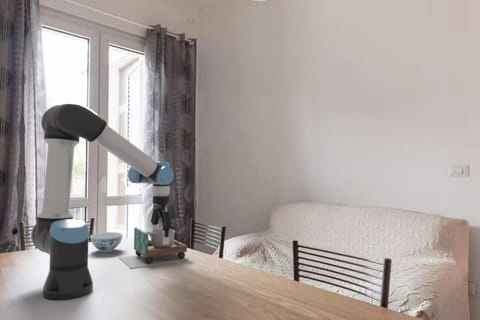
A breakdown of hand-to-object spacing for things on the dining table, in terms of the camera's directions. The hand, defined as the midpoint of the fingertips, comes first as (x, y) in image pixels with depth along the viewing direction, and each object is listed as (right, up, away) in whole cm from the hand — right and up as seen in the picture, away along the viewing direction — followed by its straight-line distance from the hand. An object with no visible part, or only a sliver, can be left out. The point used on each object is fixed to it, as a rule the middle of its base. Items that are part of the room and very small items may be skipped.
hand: (160, 241), depth 161 cm
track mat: (-3, -8, -2) cm, 8 cm away
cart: (0, -8, 0) cm, 8 cm away
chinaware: (-29, -8, +12) cm, 33 cm away
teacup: (-1, -3, 0) cm, 3 cm away
